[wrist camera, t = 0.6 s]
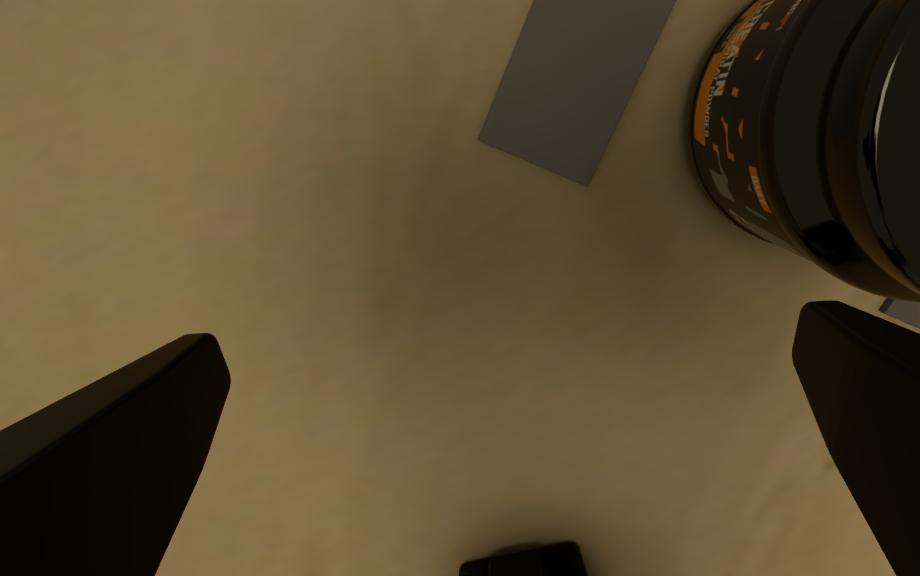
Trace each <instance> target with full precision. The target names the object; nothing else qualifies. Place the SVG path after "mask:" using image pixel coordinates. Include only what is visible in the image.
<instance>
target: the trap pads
mask: <svg viewBox="0 0 920 576" xmlns="http://www.w3.org/2000/svg"><path fill="white" fill-rule="evenodd" d="M675 1H676V0H534V2H533V5H532V7H531V9H530V12H529V14H528V17H527V19H526V22H525V24H524V27H523V29H522V32H521V34H520V37H519V39H518V42H517V44H516V46H515V49H514V51H513V54H512V56H511V59H510V61H509V64H508V66H507V69H506V71H505V74H504V76H503V79H502V81H501V83H500V86H499V88H498V91H497V93H496V96H495V98H494V101H493V103H492V106H491V108H490V111H489V113H488V116H487V118H486V120H485V123H484V125H483V128H482V130H481V133H480V135H479V138H478V140H479V141H482V142H484V143H486V144H489V145H491V146H493V147H496V148H498V149H500V150H503V151H505V152H507V153H510V154H512V155H515V156H517V157H519V158H522V159H524V160H526V161H529V162H531V163H533V164H536V165H538V166H540V167H543V168H545V169H547V170H550V171H552V172H554V173H557V174H559V175H561V176H564V177H566V178H568V179H571V180H573V181H575V182H578V183H580V184H582V185H585V186H588V184H589V182H590V180H591V178H592V176H593V174H594V172H595V169H596V167H597V165H598V163H599V161H600V159H601V157H602V155H603V153H604V151H605V148H606V146H607V144H608V142H609V140H610V138H611V136H612V134H613V132H614V130H615V127H616V125H617V123H618V121H619V119H620V117H621V115H622V113H623V111H624V109H625V106H626V104H627V102H628V100H629V98H630V96H631V94H632V92H633V90H634V87H635V85H636V83H637V81H638V79H639V77H640V75H641V73H642V71H643V69H644V66H645V64H646V62H647V60H648V58H649V56H650V54H651V52H652V50H653V48H654V45H655V43H656V41H657V39H658V37H659V35H660V33H661V31H662V29H663V27H664V24H665V22H666V20H667V18H668V16H669V14H670V12H671V10H672V8H673V5H674V3H675ZM879 311H881V312H883V313H885V314H887V315H889V316H892V317H894V318H896V319H899V320H901V321H903V322H906V323H908V324H910V325H913V326H915V327H917V328H920V303H916V302H908V301H902V300H895V299H890V298H887V300H886V301H885V303H884V304H883V306H882V307H881V308H880V310H879Z"/></svg>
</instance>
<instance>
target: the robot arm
mask: <svg viewBox="0 0 920 576" xmlns="http://www.w3.org/2000/svg"><path fill="white" fill-rule="evenodd" d="M792 359H793V364H794V367H795V369H796V372H797V374H798V377H799V379H800V382H801V384H802V387H803V389H804V392H805V394H806V397H807V399H808V402H809V404H810V407H811V409H812V412H813V414H814V417H815V419H816V422H817V424H818V426H819V429H820V431H821V434H822V436H823V439H824V441H825V443H826V446H827V448H828V450H829V453H830V455H831V457H832V459H833V461H834V463H835V464H836V466H837V468H838V470H839V472H840V474H841V476H842V478H843V479H844V481H845V483H846V485H847V487H848V488H849V490H850V492H851V494H852V496H853V498H854V499H855V501H856V503H857V505H858V507H859V508H860V510H861V512H862V514H863V516H864V518H865V519H866V521H867V523H868V525H869V527H870V529H871V530H872V532H873V534H874V536H875V538H876V539H877V541H878V543H879V545H880V547H881V549H882V550H883V552H884V554H885V556H886V558H887V559H888V561H889V563H890V565H891V567H892V569H893V570H894V572H895V574H896V576H920V334H919V333H916V332H914V331H911V330H909V329H906V328H904V327H901V326H899V325H896V324H894V323H891V322H889V321H886V320H884V319H881V318H879V317H876V316H874V315H872V314H869V313H867V312H864V311H862V310H859V309H857V308H854V307H852V306H849V305H847V304H844V303H842V302H839V301H815V302H808V303H806V304H805V305H804V306H803V307H802V309H801V311H800V315H799V320H798V324H797V329H796V334H795V338H794V343H793V348H792ZM230 383H231V378H230V373H229V370H228V367H227V364H226V362H225V359H224V357H223V354H222V351H221V349H220V346H219V344H218V341H217V339H216V338H215V337H214V336H213V335H212V334H210V333H197V334H187V335H184V336H182V337H180V338H178V339H176V340H174V341H172V342H170V343H168V344H166V345H164V346H162V347H160V348H159V349H157V350H155V351H153V352H151V353H149V354H147V355H145V356H143V357H141V358H139V359H137V360H135V361H134V362H132V363H130V364H128V365H126V366H124V367H122V368H120V369H118V370H116V371H114V372H112V373H110V374H109V375H107V376H105V377H103V378H101V379H99V380H97V381H95V382H93V383H91V384H89V385H87V386H85V387H83V388H82V389H80V390H78V391H76V392H74V393H72V394H70V395H68V396H66V397H64V398H62V399H60V400H58V401H57V402H55V403H53V404H51V405H49V406H47V407H45V408H43V409H41V410H39V411H37V412H35V413H33V414H32V415H30V416H28V417H26V418H24V419H22V420H20V421H18V422H16V423H14V424H12V425H10V426H8V427H7V428H5V429H3V430H1V431H0V576H155V574H156V571H157V569H158V567H159V565H160V563H161V560H162V558H163V556H164V554H165V552H166V549H167V547H168V545H169V543H170V541H171V538H172V536H173V534H174V532H175V530H176V527H177V525H178V523H179V521H180V519H181V516H182V514H183V512H184V510H185V508H186V505H187V503H188V501H189V499H190V497H191V494H192V492H193V490H194V488H195V486H196V483H197V481H198V479H199V476H200V474H201V472H202V469H203V467H204V464H205V461H206V458H207V456H208V453H209V450H210V447H211V444H212V441H213V438H214V435H215V432H216V429H217V426H218V423H219V419H220V416H221V413H222V410H223V407H224V404H225V401H226V398H227V395H228V392H229V389H230ZM568 552H573V554H567V553H568ZM465 573H470V574H471V575H467V574H465ZM459 576H588V574H587V570H586V567H585V564H584V561H583V558H582V554H581V551H580V548H579V547H578V545H576V544H575V543H572V542H570V543H563V544H558V545H553V546H549V547H544V548H539V549H534V550H529V551H524V552H520V553H515V554H510V555H505V556H500V557H495V558H490V559H486V560H481V561H476V562H471V563H466V564H463V565H462V566H461V567H460V569H459Z"/></svg>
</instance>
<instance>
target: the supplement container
mask: <svg viewBox="0 0 920 576" xmlns="http://www.w3.org/2000/svg"><path fill="white" fill-rule="evenodd" d="M686 133H687V146H688V151H689V157H690V161H691V164H692V167H693V171H694V173H695V175H696V178H697V180H698V182H699V184H700V186H701V188H702V190H703V191H704V193H705V195H706V196H707V197H708V199H709V200H710V201H711V203H712V204H713V205H714V207H715V208H716V209H717V210H718V211H719V212H720V213H721V214H722V215H723V216H724V217H725V218H727V219H728V220H729V221H730V222H731V223H733V224H734V225H736V226H737V227H739V228H740V229H742V230H743V231H745V232H747V233H749V234H751V235H753V236H755V237H757V238H759V239H761V240H764V241H767V242H769V243H772V244H776V245H778V246H781V247H783V248H785V249H787V250H789V251H791V252H793V253H795V254H797V255H799V256H801V257H804V258H806V259H808V260H810V261H812V262H814V263H815V264H816V265H817V266H818V267H820V268H821V269H823V270H824V271H826V272H827V273H829V274H830V275H832V276H834V277H836V278H837V279H839V280H841V281H843V282H845V283H847V284H849V285H851V286H853V287H856V288H858V289H861V290H864V291H866V292H869V293H872V294H875V295H879V296H883V297H886V298H890V299H895V300H902V301H908V302H916V303H920V0H752V1H751V2H749V3H748V4H747V5H746V6H744V7H743V8H742V9H741V10H740V11H739V12H738V13H737V14H736V15H735V16H734V17H733V18H732V19H731V21H730V22H729V23H728V24H727V25H726V27H725V28H724V29H723V30H722V31H721V33H720V34H719V35H718V37H717V38H716V40H715V41H714V43H713V44H712V46H711V47H710V49H709V51H708V53H707V54H706V56H705V58H704V60H703V62H702V64H701V66H700V68H699V71H698V73H697V76H696V79H695V81H694V84H693V87H692V91H691V95H690V100H689V105H688V112H687V127H686Z"/></svg>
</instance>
